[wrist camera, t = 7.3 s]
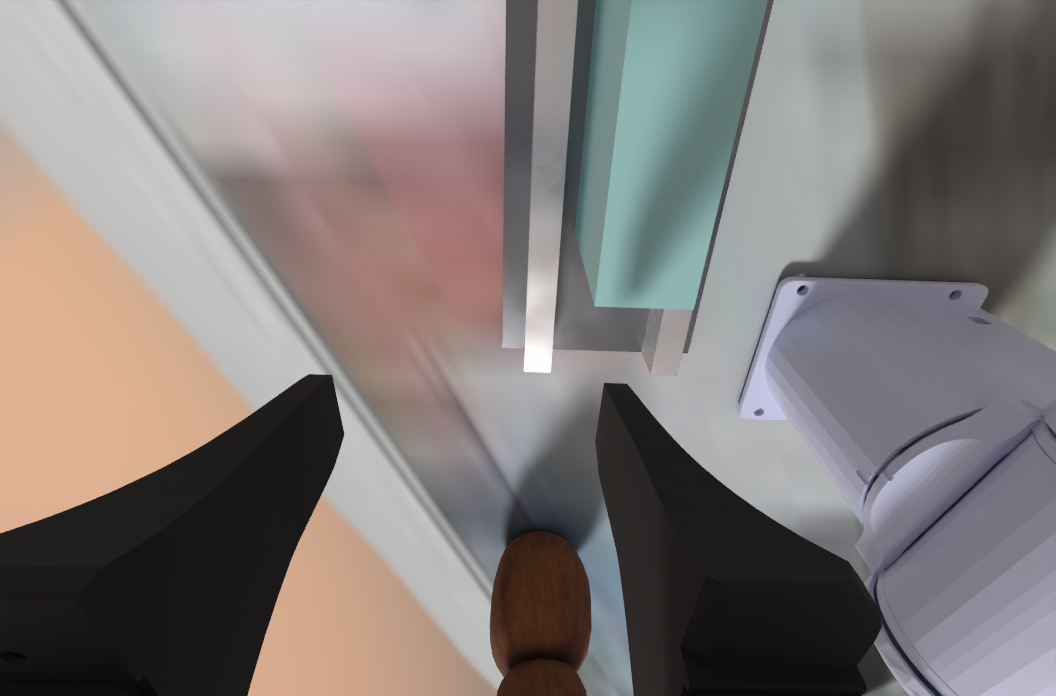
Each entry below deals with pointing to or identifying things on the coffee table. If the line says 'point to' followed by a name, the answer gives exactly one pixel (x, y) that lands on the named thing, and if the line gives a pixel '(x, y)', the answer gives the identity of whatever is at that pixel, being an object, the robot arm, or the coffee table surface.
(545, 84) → the track
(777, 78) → the coffee table surface
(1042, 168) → the coffee table surface
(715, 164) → the door panel
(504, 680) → the wooden figurine
